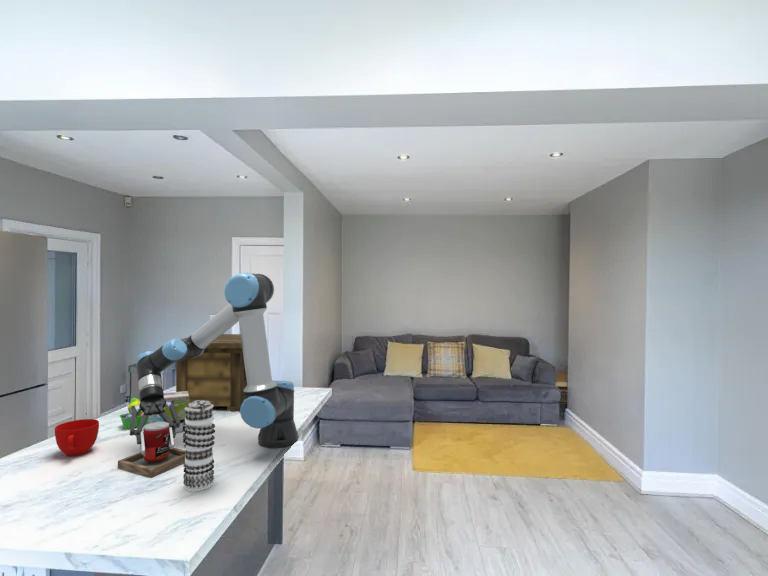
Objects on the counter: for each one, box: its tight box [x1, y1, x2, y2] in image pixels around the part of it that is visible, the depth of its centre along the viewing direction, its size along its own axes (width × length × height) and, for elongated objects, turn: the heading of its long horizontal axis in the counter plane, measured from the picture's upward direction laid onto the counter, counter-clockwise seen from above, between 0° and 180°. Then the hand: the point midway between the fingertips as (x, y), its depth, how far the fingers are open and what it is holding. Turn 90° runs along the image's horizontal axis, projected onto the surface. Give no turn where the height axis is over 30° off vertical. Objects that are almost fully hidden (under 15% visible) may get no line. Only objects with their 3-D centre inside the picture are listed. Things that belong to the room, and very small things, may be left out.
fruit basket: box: [119, 397, 148, 430], centre depth 186 cm, size 11×9×11 cm
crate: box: [175, 333, 247, 412], centre depth 222 cm, size 35×35×33 cm
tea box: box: [148, 391, 189, 433], centre depth 181 cm, size 15×10×15 cm, turn 117°
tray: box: [117, 446, 186, 479], centre depth 147 cm, size 16×16×2 cm
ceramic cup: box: [54, 418, 100, 457], centre depth 155 cm, size 13×17×10 cm
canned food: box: [142, 422, 170, 462], centre depth 147 cm, size 8×8×11 cm
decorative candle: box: [182, 400, 216, 492], centre depth 132 cm, size 9×9×25 cm
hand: (158, 449), depth 145 cm, fingers open, 8 cm apart
